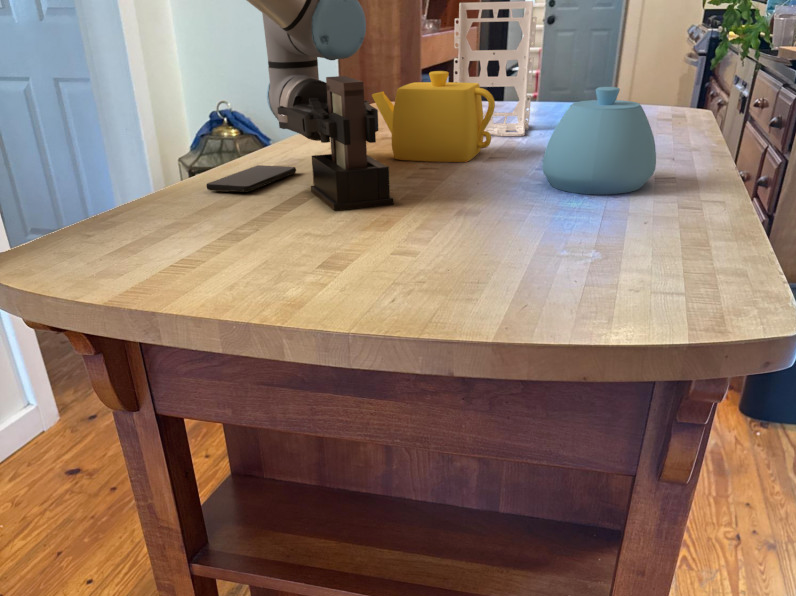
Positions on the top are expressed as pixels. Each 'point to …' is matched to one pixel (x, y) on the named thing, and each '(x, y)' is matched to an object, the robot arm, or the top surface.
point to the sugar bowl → (601, 147)
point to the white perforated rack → (502, 55)
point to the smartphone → (250, 178)
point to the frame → (349, 104)
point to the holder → (350, 184)
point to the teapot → (437, 119)
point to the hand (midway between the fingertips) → (359, 131)
